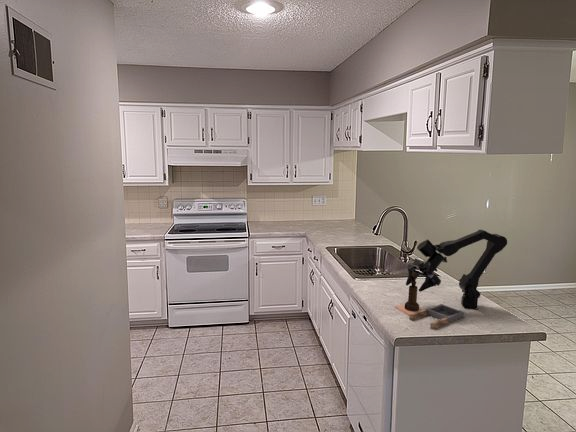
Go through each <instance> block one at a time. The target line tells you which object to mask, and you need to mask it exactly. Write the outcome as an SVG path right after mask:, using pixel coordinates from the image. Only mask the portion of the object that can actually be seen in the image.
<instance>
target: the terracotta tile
mask: <svg viewBox="0 0 576 432" xmlns="http://www.w3.org/2000/svg"><path fill="white" fill-rule="evenodd" d="M394 309H396V310H399V311H400V312H402V313H404V314H405V315H407V316H410V314H412V313H415V312H418V311H421V310H424V309H425V308H423V307H420V306H419V310H418V311H409V310H406V309H405V304H399V305H395V306H394Z"/></svg>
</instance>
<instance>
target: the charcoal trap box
mask: <svg viewBox="0 0 576 432" xmlns="http://www.w3.org/2000/svg"><path fill="white" fill-rule="evenodd" d="M426 310H427V315H426V316H429V317H431V316H432V317H431V318H434V319H436V318H437V320H439V319H443V318H448V324H450V323H452V322H451V321H453V322H455V321H457V320H456V319H458V320H460V319H459V318H461V319H463V318H464V317H465V312H464V311H462V310H459V309H456V308H454V307H451V306H449V305H445V304H443V303H439V304H438V305H434V306H432V307H427V308H426ZM462 317H463V318H462ZM454 320H455V321H454ZM449 322H450V323H449Z"/></svg>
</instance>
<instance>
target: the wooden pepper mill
mask: <svg viewBox="0 0 576 432" xmlns="http://www.w3.org/2000/svg"><path fill="white" fill-rule="evenodd" d="M418 277H419V276H418V275H417V273H415V272H413V273H412V274H411V278H412V281H411V283H410V285H408V295H407V296H408V299H407V301H406V302H404V305H405V309H406V310H409V311H418V310H419V307H420V304H419V303H418V302H417V300H418V290H419V289H418V288H419V287H418V286H416V285H417V281H416V280H417V279H418Z"/></svg>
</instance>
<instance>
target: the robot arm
mask: <svg viewBox="0 0 576 432" xmlns="http://www.w3.org/2000/svg"><path fill="white" fill-rule="evenodd" d="M482 240H485V241H486V248H485V250H484V251H483V252H482V254H481V256H480V257H479V259H478V260H477V261H476V263H475V265H474V266H473V268H472V269H471V271H470V272H469V273H468V274H465V273H463V274H462V275H461V277H460V279H459V283H458V286H459V288H460V289H461V291H462V296H461V300H460V304H461V306H462V307H463V308H464V309H466V308H477V307H478V301H479V300H478V299H479V298H480V296H481V295H482V293H481V292H480V291H479V290H478V286H479V282H480V281H479V280H480V278H481V276H482V275H483V274H484V272H485V270H486V269H487V268H488V266H489V265H490V263H491V262H492V260H493V259H494V257H495V256H496V255H497V253H498V254H499V253H500V252H502V251H503V249H505V248H506V246H507V245H508V239H507V237H505V236H503V235H501V234H499V233H490V232H488V231H486V230H483V229H478V230H477V231H475V232H472V233H469V234H467V235H464V236H462V237H460V238H457V239H454V240H452V239H451V240H446V241H442V242H440V243H438V244H433V243H432V242H431V241H430V239H426V240H423V241H422V242H420V243H418V245H417V247H416V249H417V250H418V251H419V252H420V253H421V254H422V255H423V256H424V257H425V258H428V259H427V260H426V259H424V260H420V259H417V258H414V260H413V263H412V264H408V265H407V266H406V269H407V271H408V274H407V275H408V276H407V280H406V282H405V285H406V286H408V287H409V286H410V285H411V281H412V278H411V274H412V273H413V272H415V273H417V275H418V276H417V277H419V276H421V277H424V278H425V279H424V282H422V284H421V286H420V287H419V289H418V292H419V293H421V292H424V291H426V290H428V289H430V288H433V287H436V286H438V287H439V286H440V285H441V283H442V280H441V278H440V277H439V276H438V275H437V274H436V273H434V272H438V267H439V266H440V265H441V264H442V263H446V264H447V263H448V260H447V258H448V257H451V256H453V255H455V254H456V253H457V252H459V251H460V250H461V249H463V248H465V247H467V246H470V245H473V244H475V243H477V242H480V241H482ZM443 255H444V256H443Z"/></svg>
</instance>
